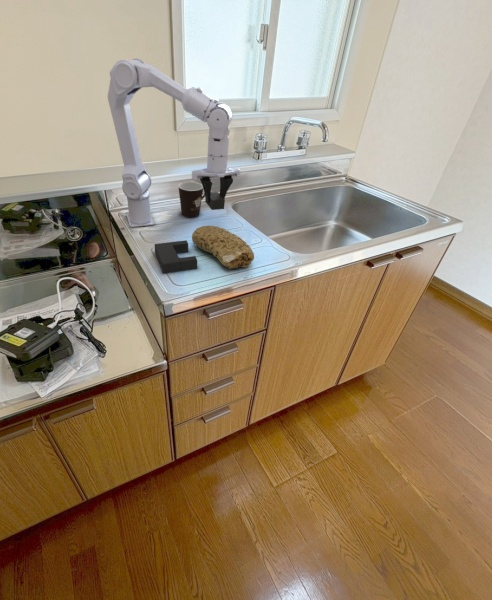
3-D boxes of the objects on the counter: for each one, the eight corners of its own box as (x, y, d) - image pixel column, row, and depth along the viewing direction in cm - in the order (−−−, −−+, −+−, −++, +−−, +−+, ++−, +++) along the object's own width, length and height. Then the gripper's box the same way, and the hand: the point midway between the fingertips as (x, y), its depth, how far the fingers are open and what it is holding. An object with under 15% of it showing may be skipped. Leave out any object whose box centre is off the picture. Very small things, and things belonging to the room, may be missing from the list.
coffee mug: (182, 220, 110) (182, 191, 104) (175, 210, 116) (175, 182, 110) (213, 216, 114) (215, 188, 107) (205, 207, 120) (206, 180, 113)
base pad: (155, 252, 92) (154, 243, 90) (186, 249, 95) (186, 240, 93) (163, 273, 84) (162, 264, 82) (197, 268, 87) (197, 259, 85)
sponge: (256, 269, 90) (226, 226, 101) (259, 250, 84) (226, 206, 95) (214, 285, 88) (188, 239, 98) (213, 266, 81) (185, 219, 92)
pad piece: (205, 202, 101) (205, 192, 99) (217, 201, 102) (217, 191, 100) (211, 210, 96) (212, 200, 94) (224, 209, 97) (224, 199, 95)
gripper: (197, 159, 85) (196, 208, 93) (246, 157, 89) (241, 204, 97) (189, 152, 90) (189, 199, 98) (237, 150, 94) (232, 195, 102)
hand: (214, 201), depth 98 cm, fingers closed on pad piece, 4 cm apart
